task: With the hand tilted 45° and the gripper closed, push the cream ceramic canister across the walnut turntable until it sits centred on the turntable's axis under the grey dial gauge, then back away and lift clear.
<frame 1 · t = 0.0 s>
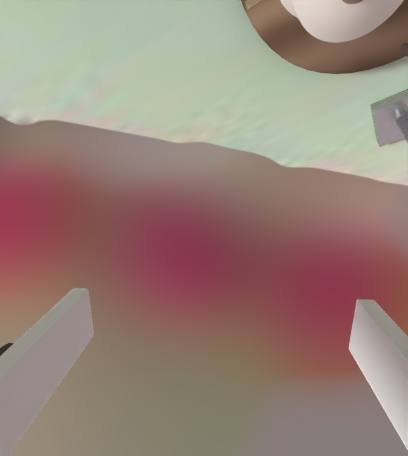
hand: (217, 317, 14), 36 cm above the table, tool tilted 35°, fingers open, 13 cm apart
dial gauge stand: (400, 113, 42), on the table
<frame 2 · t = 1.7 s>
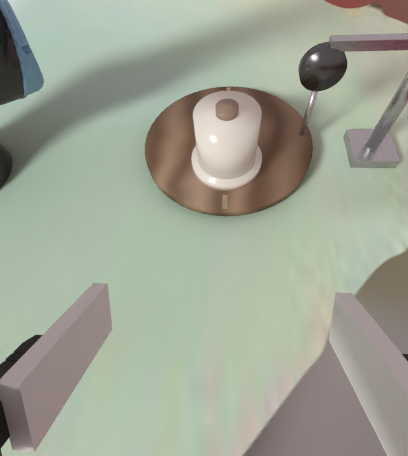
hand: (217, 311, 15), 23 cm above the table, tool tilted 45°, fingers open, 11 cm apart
canister: (226, 163, 46), point 3 cm above the table, touching turntable
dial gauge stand: (368, 151, 49), on the table
turntable: (227, 143, 49), point 2 cm above the table, hinge at 0.0°, touching canister
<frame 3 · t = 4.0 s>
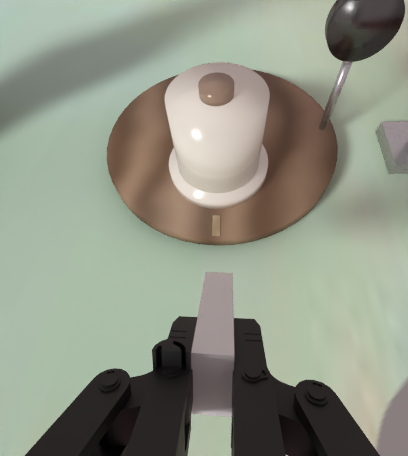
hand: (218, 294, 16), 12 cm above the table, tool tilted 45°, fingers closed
canister: (218, 168, 33), point 3 cm above the table, touching turntable
turntable: (219, 141, 36), point 2 cm above the table, hinge at 0.0°, touching canister
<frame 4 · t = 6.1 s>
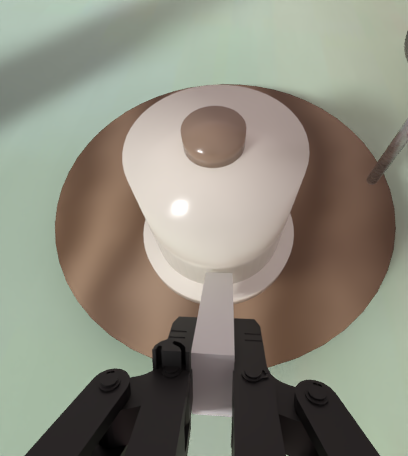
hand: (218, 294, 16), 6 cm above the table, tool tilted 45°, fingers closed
canister: (217, 235, 23), point 3 cm above the table, touching turntable
turntable: (218, 194, 25), point 2 cm above the table, hinge at 0.0°, touching canister
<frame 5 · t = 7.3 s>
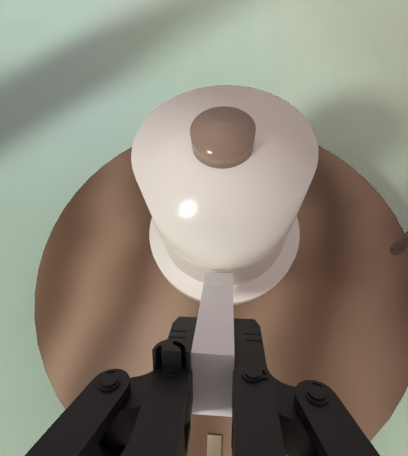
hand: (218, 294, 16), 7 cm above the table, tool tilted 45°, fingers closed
canister: (223, 235, 23), point 3 cm above the table, touching gripper, turntable
turntable: (220, 257, 23), point 2 cm above the table, hinge at 0.0°, touching canister
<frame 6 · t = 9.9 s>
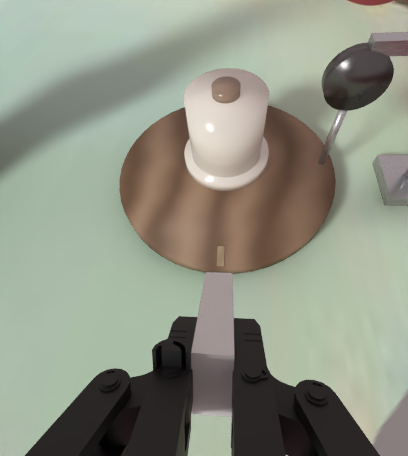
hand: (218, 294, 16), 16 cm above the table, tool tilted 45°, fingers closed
canister: (226, 158, 39), point 3 cm above the table, touching turntable
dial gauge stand: (406, 183, 38), on the table
turntable: (224, 173, 39), point 2 cm above the table, hinge at 0.0°, touching canister
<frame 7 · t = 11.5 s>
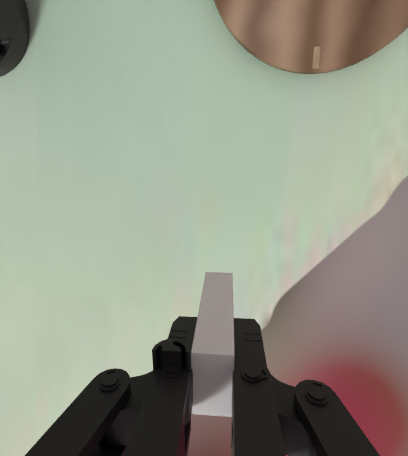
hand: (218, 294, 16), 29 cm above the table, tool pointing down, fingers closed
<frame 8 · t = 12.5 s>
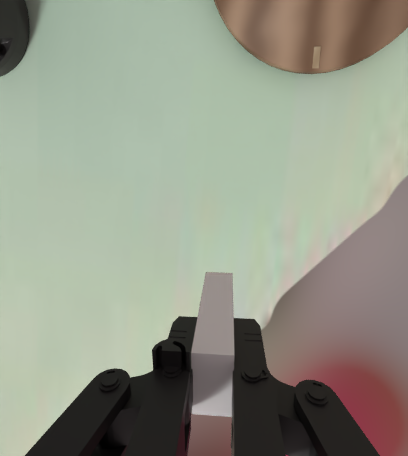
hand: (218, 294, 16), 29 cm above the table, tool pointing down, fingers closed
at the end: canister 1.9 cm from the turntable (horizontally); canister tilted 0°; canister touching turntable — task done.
